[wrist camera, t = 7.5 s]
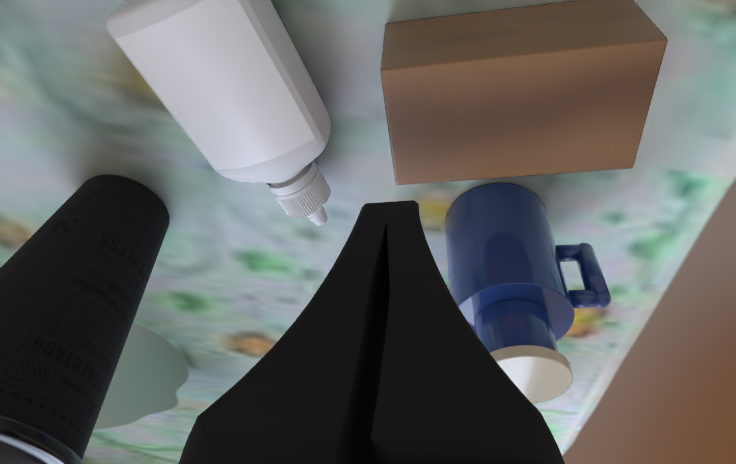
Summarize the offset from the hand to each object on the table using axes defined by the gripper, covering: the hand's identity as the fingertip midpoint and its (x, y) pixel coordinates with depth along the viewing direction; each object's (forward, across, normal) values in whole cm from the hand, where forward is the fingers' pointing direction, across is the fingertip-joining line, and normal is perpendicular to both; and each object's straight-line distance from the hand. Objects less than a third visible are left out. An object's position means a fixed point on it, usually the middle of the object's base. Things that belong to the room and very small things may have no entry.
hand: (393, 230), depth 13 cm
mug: (+10, -5, +6) cm, 13 cm away
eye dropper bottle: (+9, +8, -4) cm, 12 cm away
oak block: (+10, -4, +1) cm, 11 cm away
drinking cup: (+11, +16, +7) cm, 20 cm away
